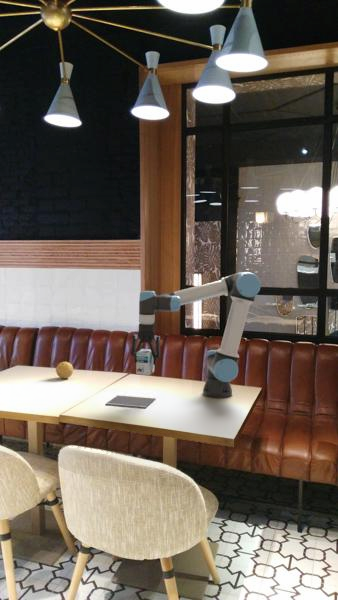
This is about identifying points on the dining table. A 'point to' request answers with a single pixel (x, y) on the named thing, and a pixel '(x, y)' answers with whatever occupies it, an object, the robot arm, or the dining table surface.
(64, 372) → the stress ball
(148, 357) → the light bulb box
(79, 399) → the dining table surface
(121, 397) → the mat
